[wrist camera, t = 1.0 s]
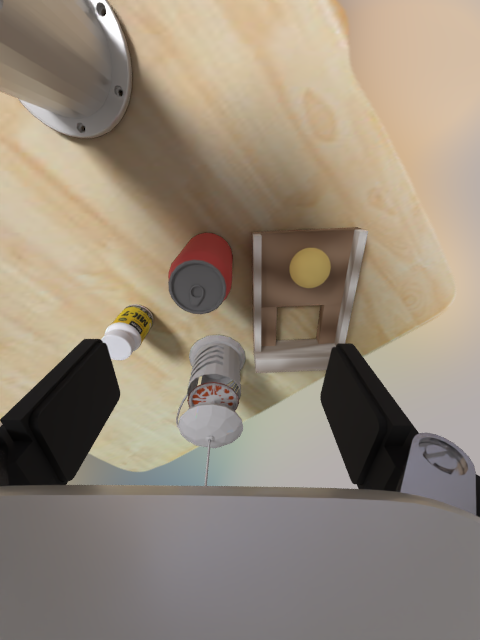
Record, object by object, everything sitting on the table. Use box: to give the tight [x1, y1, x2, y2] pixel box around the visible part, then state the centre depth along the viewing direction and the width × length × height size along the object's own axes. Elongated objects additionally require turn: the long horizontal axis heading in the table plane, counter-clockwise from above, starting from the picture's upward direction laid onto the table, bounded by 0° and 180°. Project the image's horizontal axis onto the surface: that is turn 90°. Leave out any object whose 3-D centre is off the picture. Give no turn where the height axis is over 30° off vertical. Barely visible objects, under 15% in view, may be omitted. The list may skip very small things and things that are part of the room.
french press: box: [176, 335, 245, 486], centre depth 32 cm, size 10×12×25 cm
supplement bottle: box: [101, 305, 153, 360], centre depth 35 cm, size 5×5×8 cm
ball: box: [290, 248, 331, 288], centre depth 31 cm, size 5×5×5 cm
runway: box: [252, 227, 368, 373], centre depth 35 cm, size 20×14×5 cm
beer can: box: [168, 233, 233, 314], centre depth 29 cm, size 7×7×12 cm
